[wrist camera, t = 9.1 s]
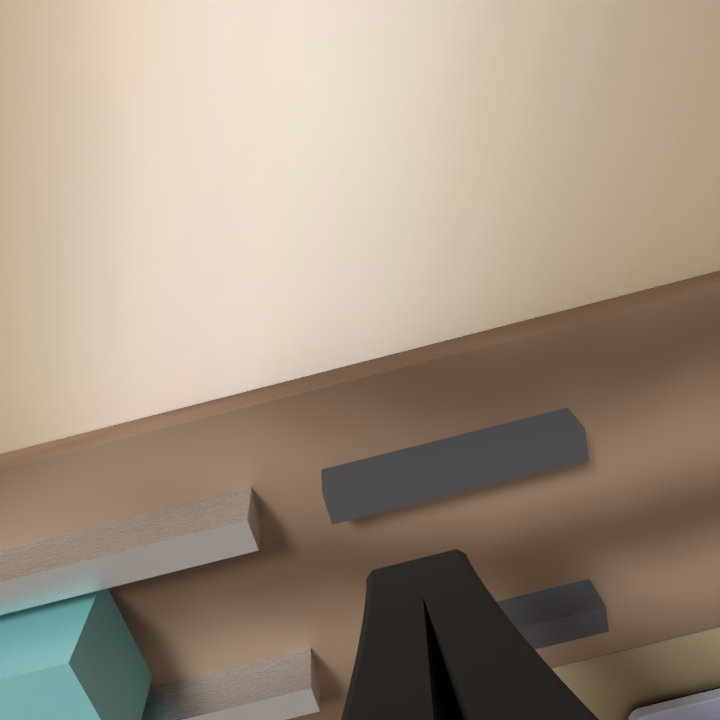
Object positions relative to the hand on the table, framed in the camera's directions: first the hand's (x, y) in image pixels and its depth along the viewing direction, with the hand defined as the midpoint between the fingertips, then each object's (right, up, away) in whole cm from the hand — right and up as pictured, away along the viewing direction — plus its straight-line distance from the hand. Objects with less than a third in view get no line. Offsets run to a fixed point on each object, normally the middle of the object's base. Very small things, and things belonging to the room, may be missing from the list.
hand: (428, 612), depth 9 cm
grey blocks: (+2, -2, +10) cm, 10 cm away
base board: (-3, -3, +11) cm, 12 cm away
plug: (-10, -5, +10) cm, 16 cm away
